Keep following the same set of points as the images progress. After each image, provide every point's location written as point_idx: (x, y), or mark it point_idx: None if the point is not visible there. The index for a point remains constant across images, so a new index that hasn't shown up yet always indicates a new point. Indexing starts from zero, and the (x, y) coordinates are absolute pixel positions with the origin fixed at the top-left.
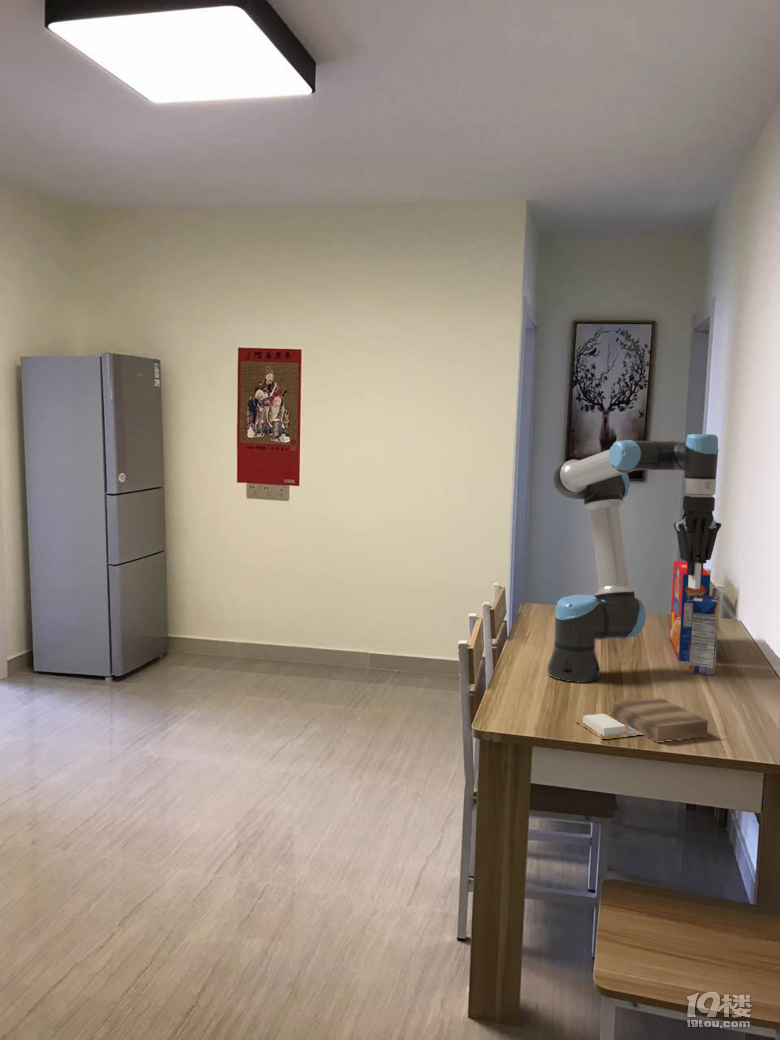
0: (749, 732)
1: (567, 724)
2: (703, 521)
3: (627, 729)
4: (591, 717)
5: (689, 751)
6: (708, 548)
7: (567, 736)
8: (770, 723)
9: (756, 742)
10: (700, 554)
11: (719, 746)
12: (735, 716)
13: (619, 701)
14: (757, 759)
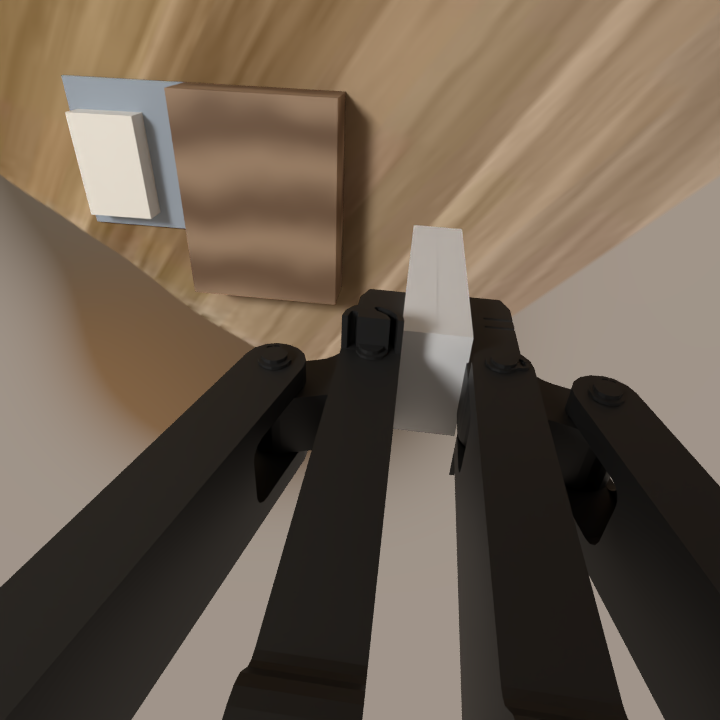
0: None
1: (40, 88)
2: None
3: (178, 188)
4: (84, 133)
5: (251, 329)
6: (600, 578)
7: (21, 167)
8: (569, 274)
9: None
10: (456, 494)
11: (329, 332)
12: (533, 201)
13: (186, 89)
14: None
